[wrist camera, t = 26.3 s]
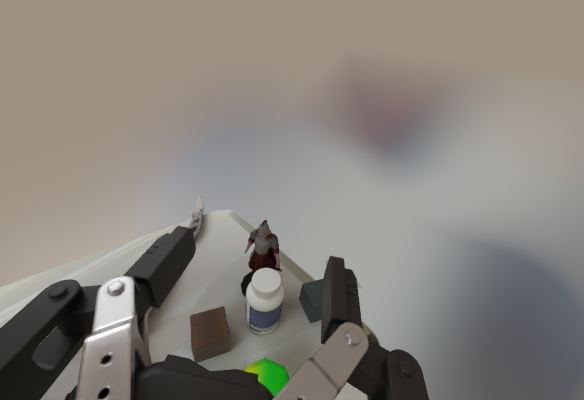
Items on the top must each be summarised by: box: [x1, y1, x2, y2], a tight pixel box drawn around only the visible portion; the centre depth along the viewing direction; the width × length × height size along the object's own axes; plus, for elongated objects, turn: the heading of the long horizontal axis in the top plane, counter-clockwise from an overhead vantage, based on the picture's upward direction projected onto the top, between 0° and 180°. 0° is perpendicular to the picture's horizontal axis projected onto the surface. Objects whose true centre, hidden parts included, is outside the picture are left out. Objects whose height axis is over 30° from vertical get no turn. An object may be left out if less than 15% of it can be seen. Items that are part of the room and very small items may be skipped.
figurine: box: [241, 220, 282, 297], centre depth 37 cm, size 7×7×15 cm
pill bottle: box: [246, 268, 284, 335], centre depth 34 cm, size 5×5×10 cm
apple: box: [244, 358, 289, 397], centre depth 27 cm, size 7×6×9 cm
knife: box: [189, 196, 204, 239], centre depth 53 cm, size 2×18×3 cm
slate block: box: [299, 279, 323, 323], centre depth 38 cm, size 4×4×4 cm
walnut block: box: [190, 306, 230, 363], centre depth 32 cm, size 4×4×4 cm
